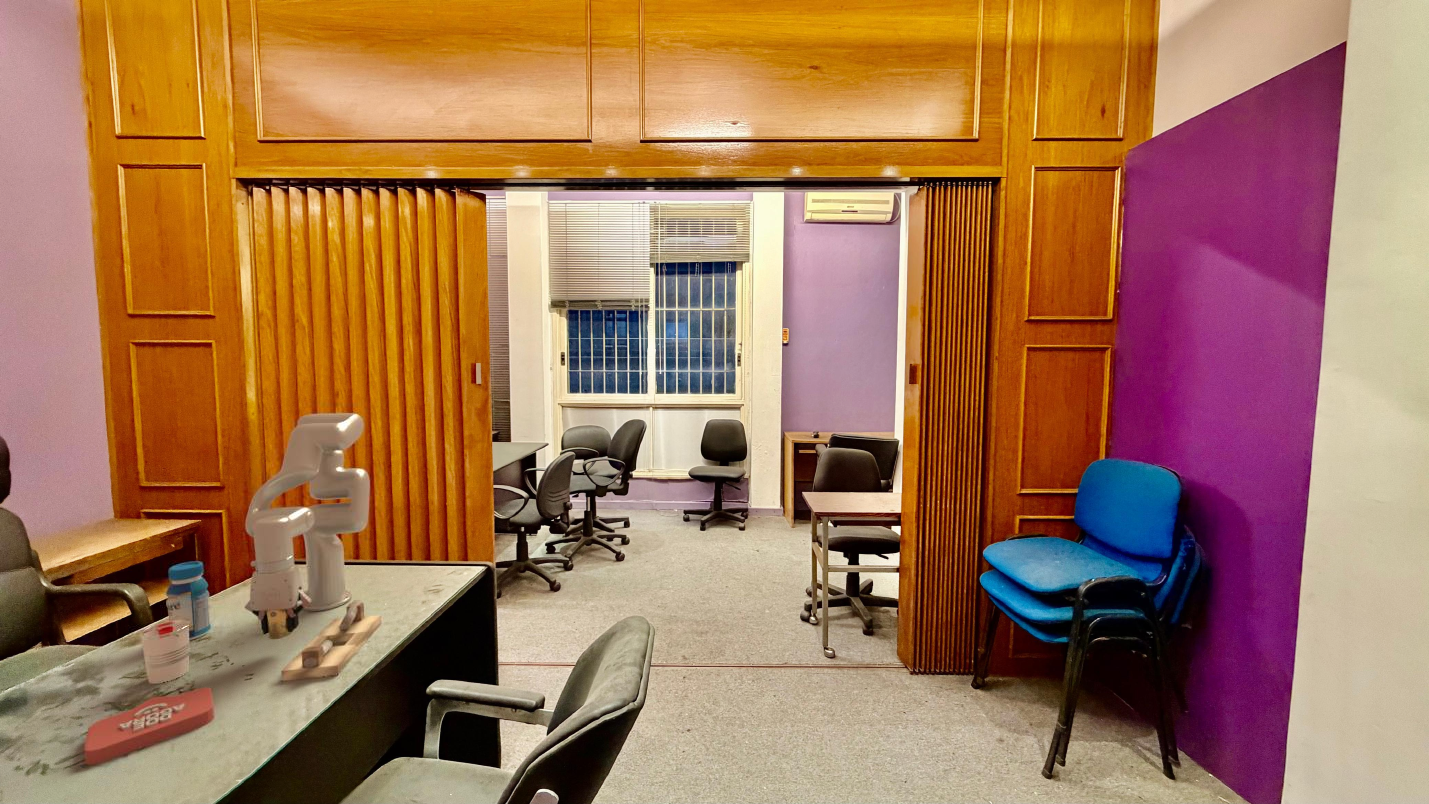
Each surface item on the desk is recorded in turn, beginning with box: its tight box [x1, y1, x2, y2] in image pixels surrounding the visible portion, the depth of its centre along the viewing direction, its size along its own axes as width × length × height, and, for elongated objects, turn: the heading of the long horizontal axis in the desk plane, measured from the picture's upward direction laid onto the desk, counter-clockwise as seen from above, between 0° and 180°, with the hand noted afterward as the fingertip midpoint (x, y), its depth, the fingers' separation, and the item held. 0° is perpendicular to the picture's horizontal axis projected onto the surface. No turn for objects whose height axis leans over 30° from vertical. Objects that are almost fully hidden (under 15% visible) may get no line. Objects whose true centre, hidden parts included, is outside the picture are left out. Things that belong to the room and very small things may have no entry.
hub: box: [266, 609, 294, 640], centre depth 137 cm, size 5×6×8 cm
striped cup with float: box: [139, 620, 190, 685], centre depth 128 cm, size 10×8×12 cm
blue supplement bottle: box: [165, 560, 212, 641], centre depth 146 cm, size 8×8×20 cm
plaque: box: [84, 687, 215, 766], centre depth 111 cm, size 18×4×15 cm
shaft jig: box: [280, 599, 382, 682], centre depth 140 cm, size 12×26×8 cm, turn 12°
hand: (280, 629), depth 138 cm, fingers closed on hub, 5 cm apart
